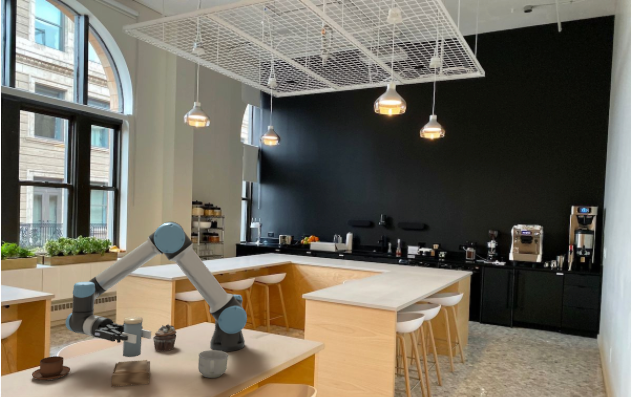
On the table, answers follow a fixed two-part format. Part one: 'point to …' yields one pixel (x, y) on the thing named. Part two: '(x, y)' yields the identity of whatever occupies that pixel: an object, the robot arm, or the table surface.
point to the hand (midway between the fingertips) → (143, 337)
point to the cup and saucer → (51, 369)
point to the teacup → (212, 363)
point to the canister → (133, 327)
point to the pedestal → (131, 373)
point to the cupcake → (165, 338)
